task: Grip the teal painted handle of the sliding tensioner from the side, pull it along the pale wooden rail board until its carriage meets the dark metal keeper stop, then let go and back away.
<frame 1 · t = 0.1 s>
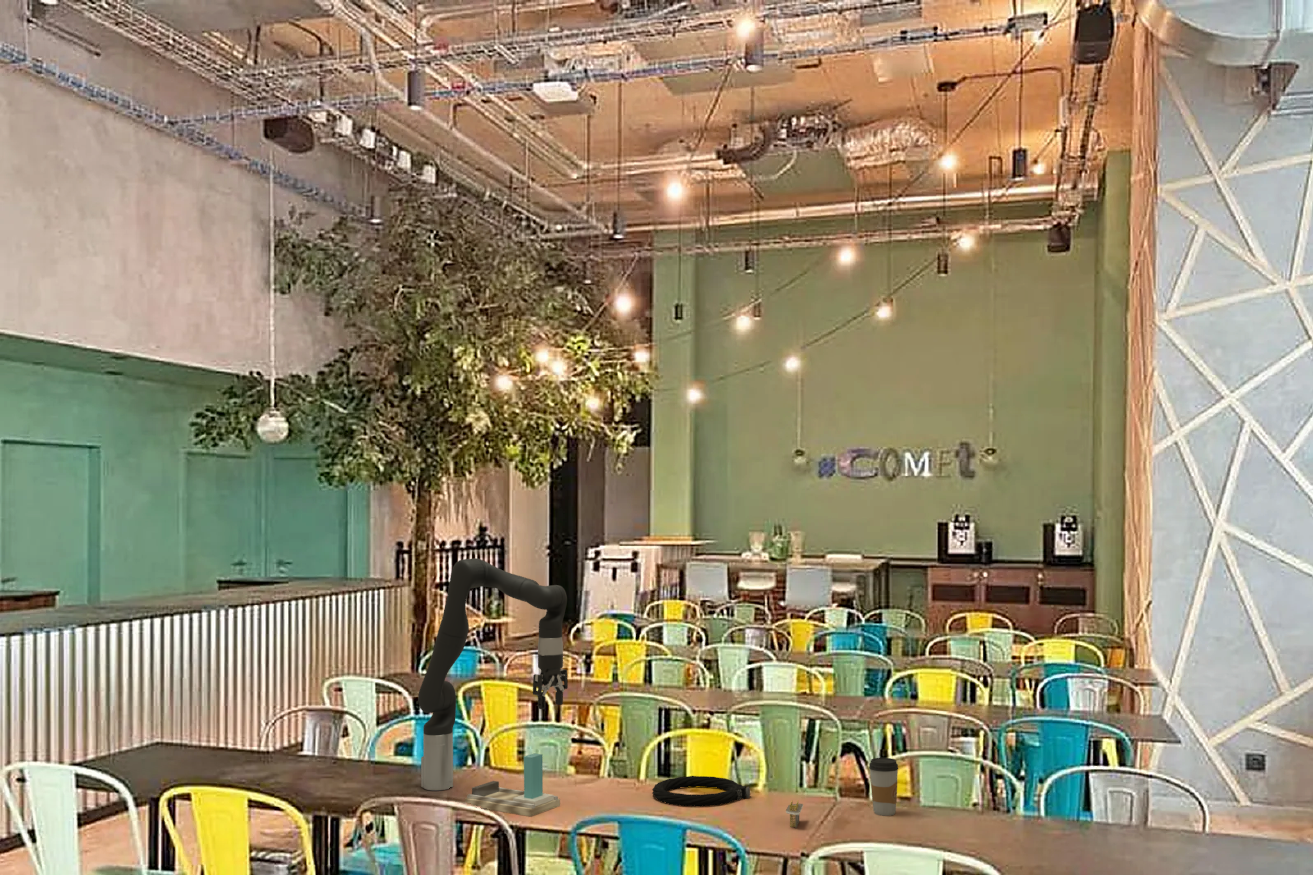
hand: (550, 706, 369), 29 cm above the table, tool pointing down, fingers open, 8 cm apart
tensioner: (533, 778, 364), point 9 cm above the table, slide at 0.0 cm
cable lock: (700, 798, 377), on the table
rail board: (512, 805, 368), on the table
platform: (794, 827, 344), on the table
coffee cup: (884, 813, 355), on the table
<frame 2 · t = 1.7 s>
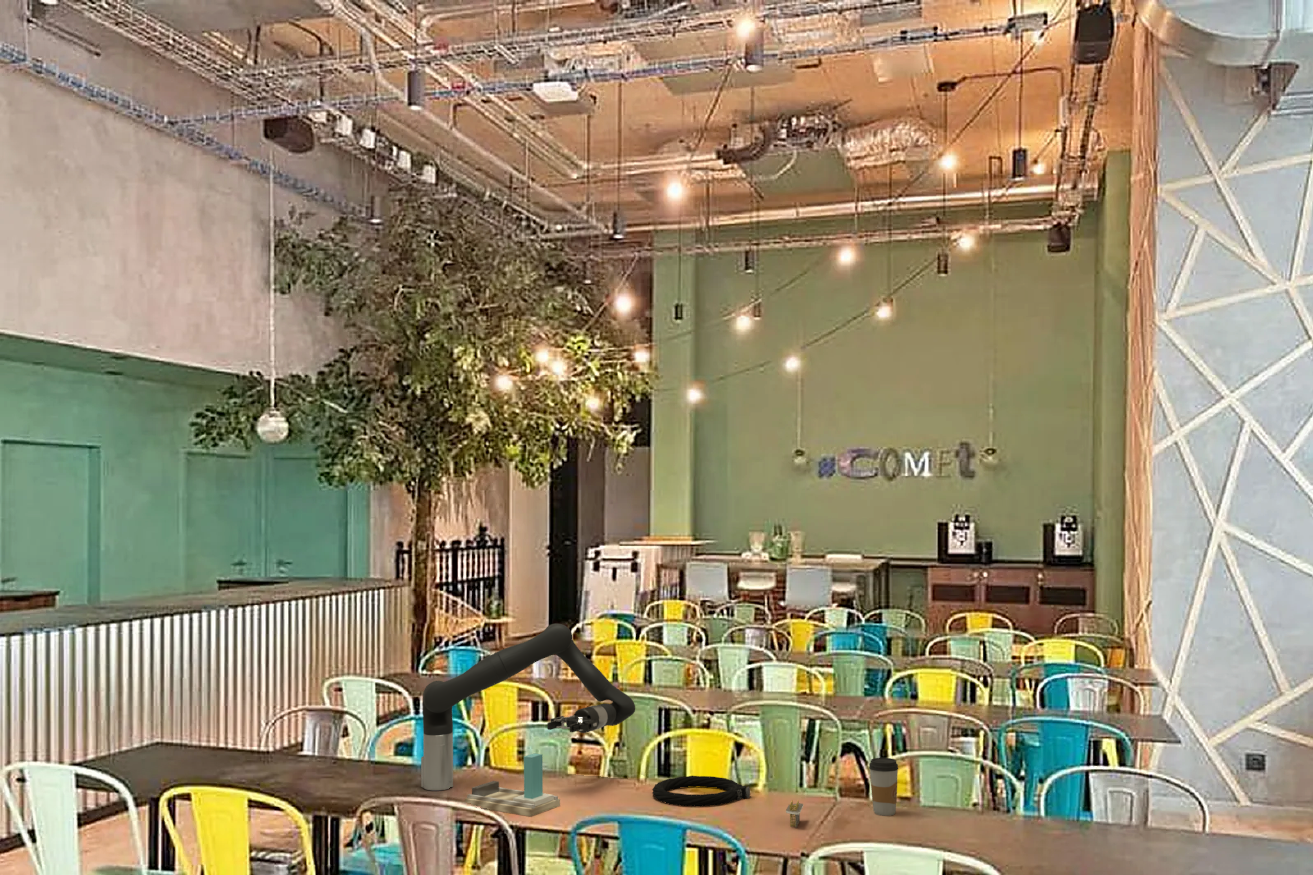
hand: (559, 727, 376), 22 cm above the table, tool horizontal, fingers open, 8 cm apart
nothing on the table moved.
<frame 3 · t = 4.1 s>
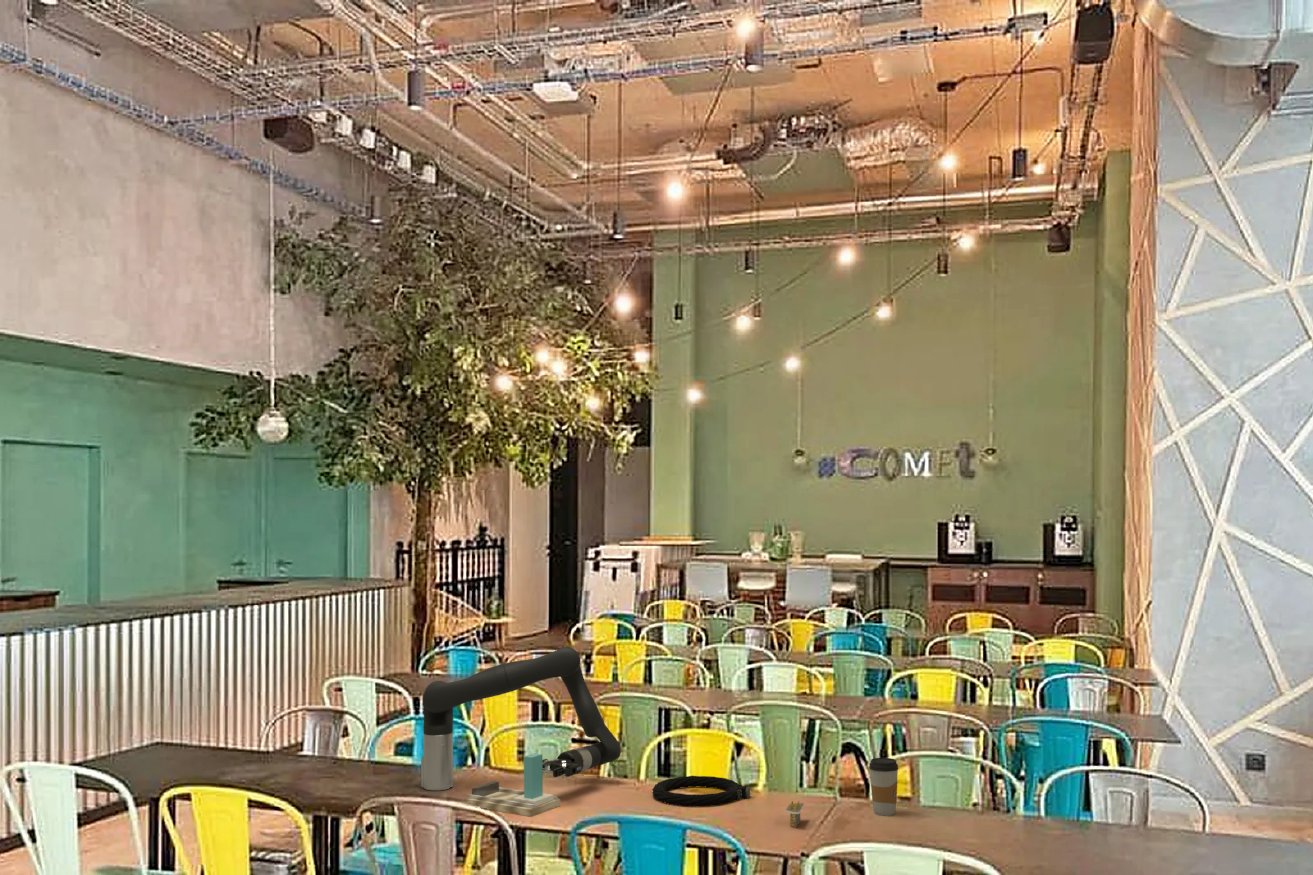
hand: (542, 772, 368), 10 cm above the table, tool horizontal, fingers open, 8 cm apart
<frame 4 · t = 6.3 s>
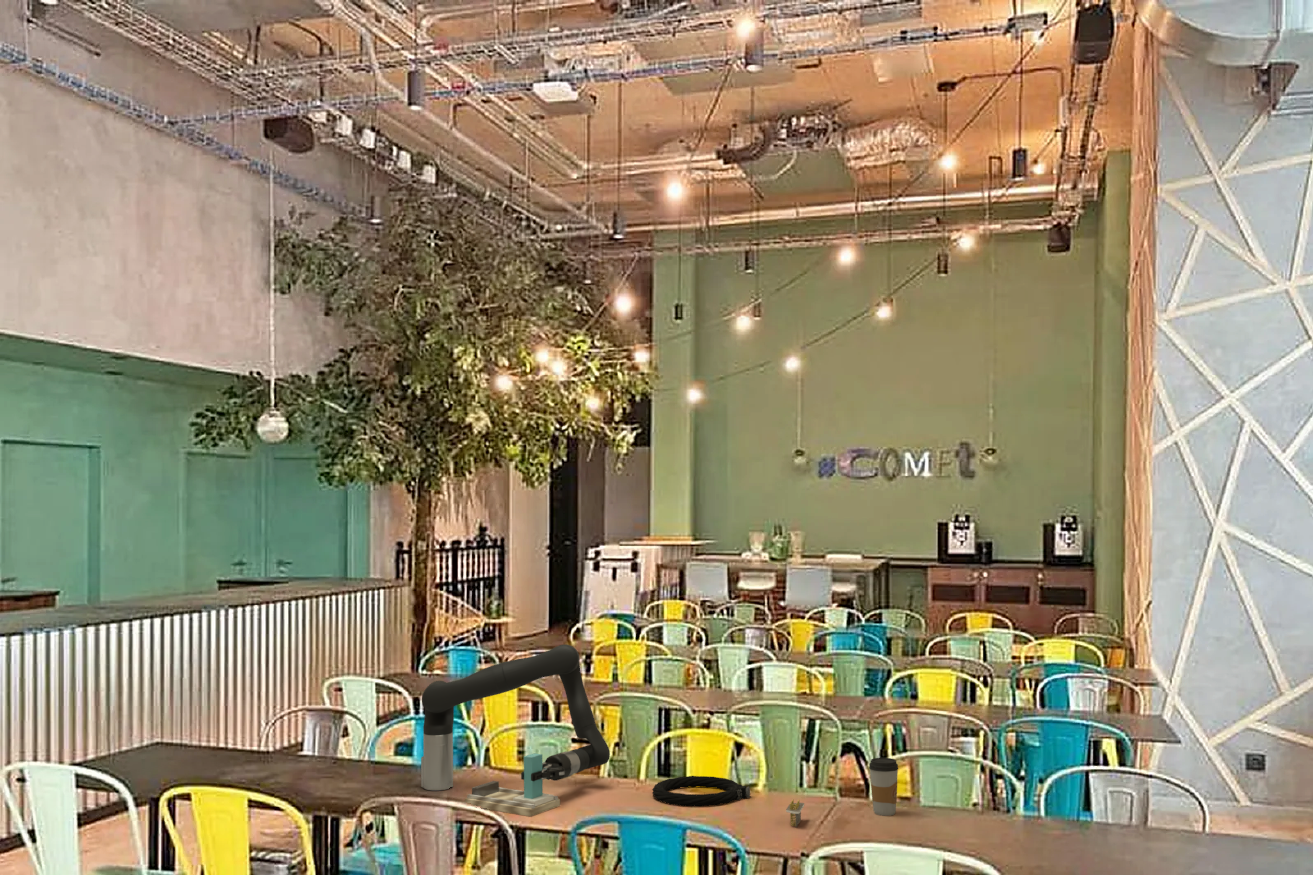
hand: (527, 776, 362), 10 cm above the table, tool horizontal, fingers closed on tensioner, 3 cm apart
tensioner: (533, 778, 364), point 9 cm above the table, slide at 0.0 cm, touching gripper
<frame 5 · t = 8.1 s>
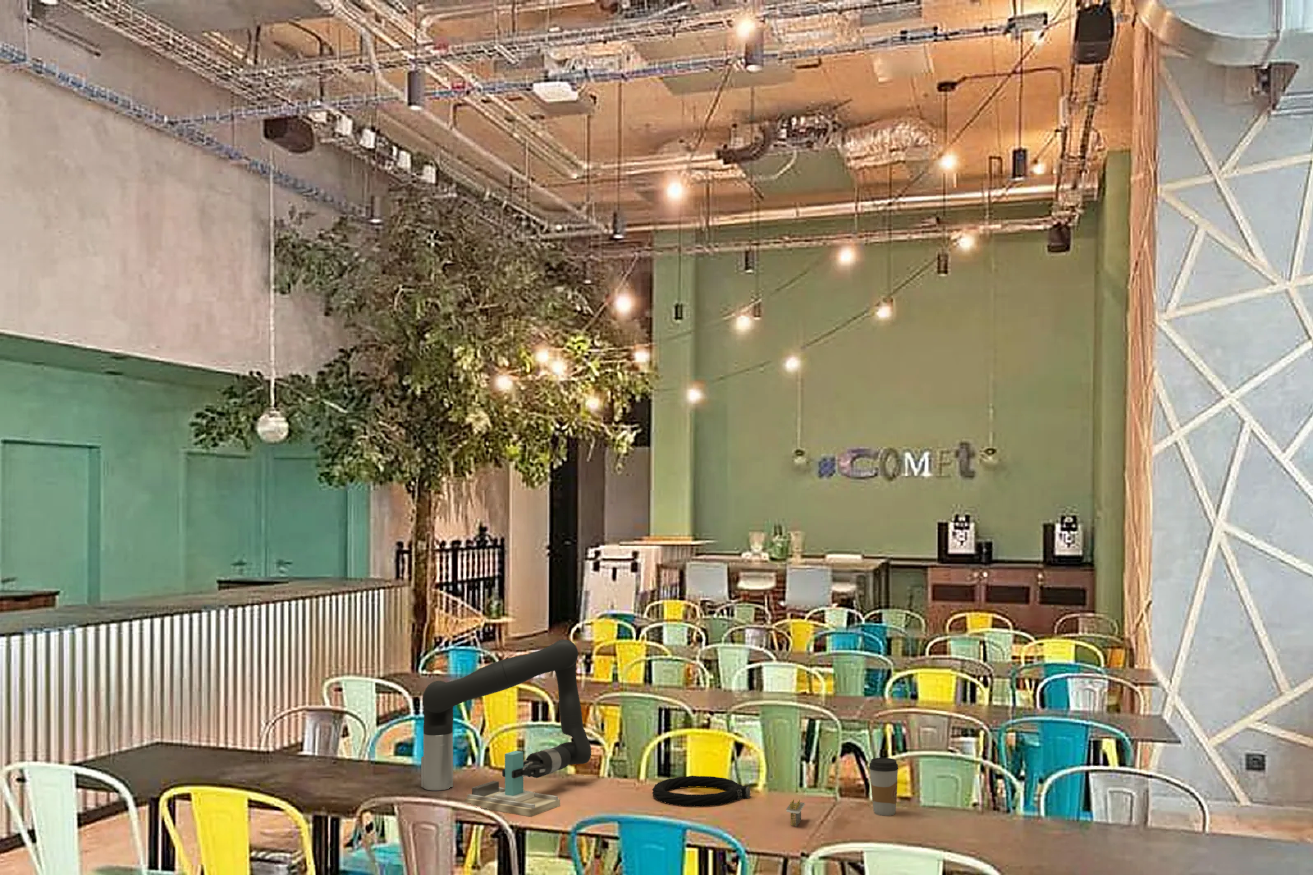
hand: (508, 774, 366), 10 cm above the table, tool horizontal, fingers closed on tensioner, 3 cm apart
tensioner: (514, 775, 368), point 9 cm above the table, slide at 7.2 cm, touching gripper
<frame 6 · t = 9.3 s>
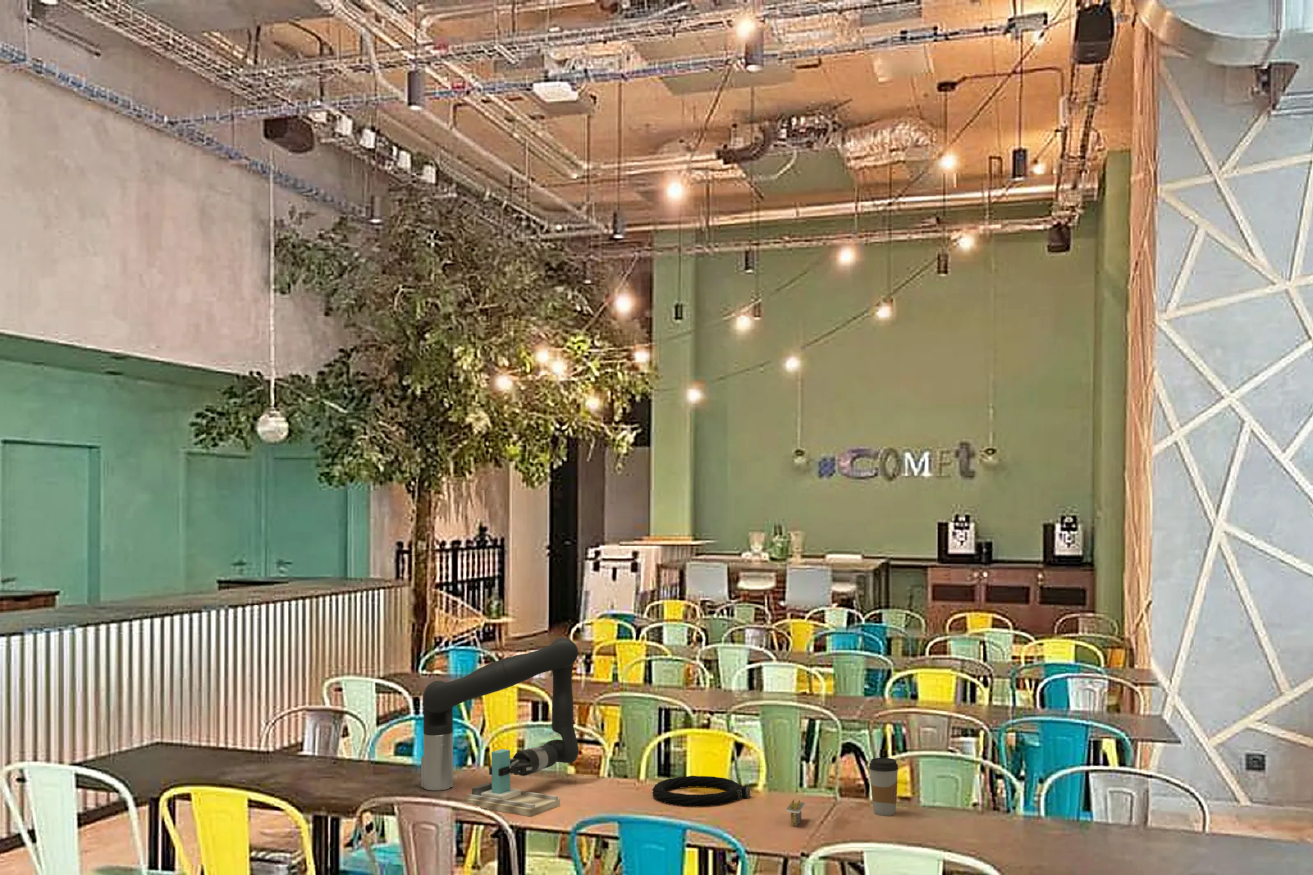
hand: (494, 772, 368), 10 cm above the table, tool horizontal, fingers closed on tensioner, 3 cm apart
tensioner: (500, 773, 371), point 9 cm above the table, slide at 12.3 cm, touching gripper
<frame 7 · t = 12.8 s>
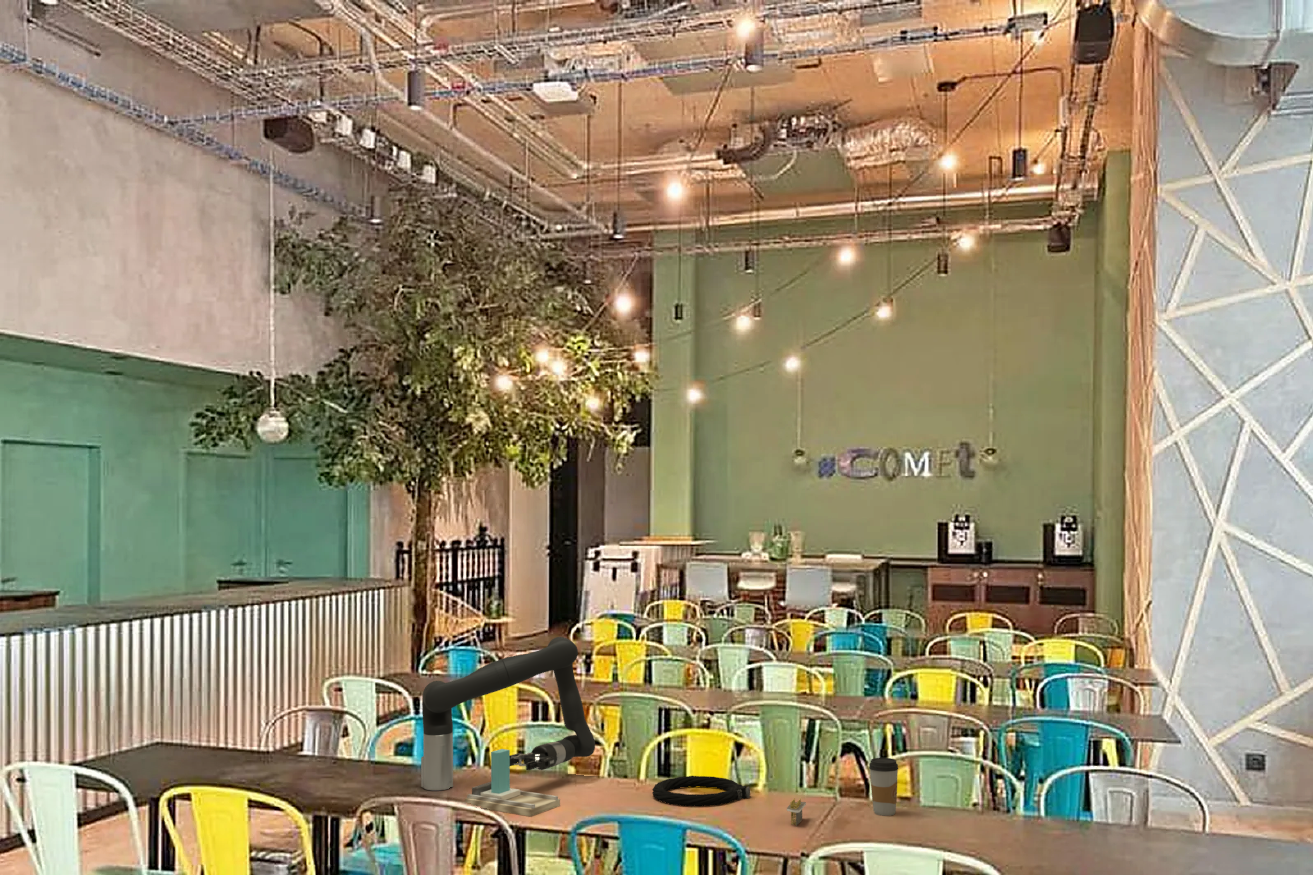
hand: (516, 765, 377), 10 cm above the table, tool horizontal, fingers open, 8 cm apart
tensioner: (500, 773, 371), point 9 cm above the table, slide at 12.5 cm
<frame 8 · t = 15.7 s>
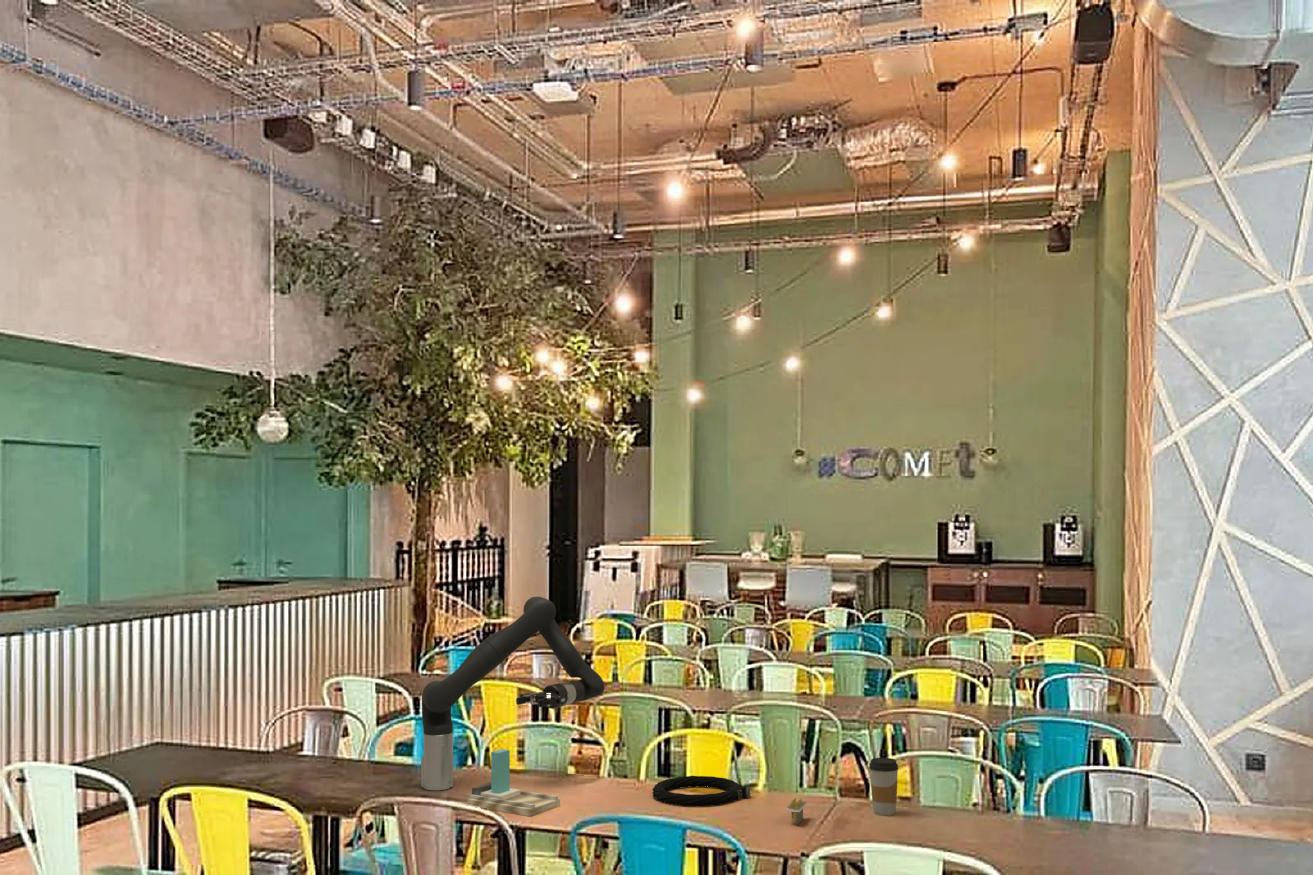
hand: (527, 702, 384), 28 cm above the table, tool horizontal, fingers open, 8 cm apart
at the end: tensioner slide at 12.5 cm; the gripper is holding nothing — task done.
